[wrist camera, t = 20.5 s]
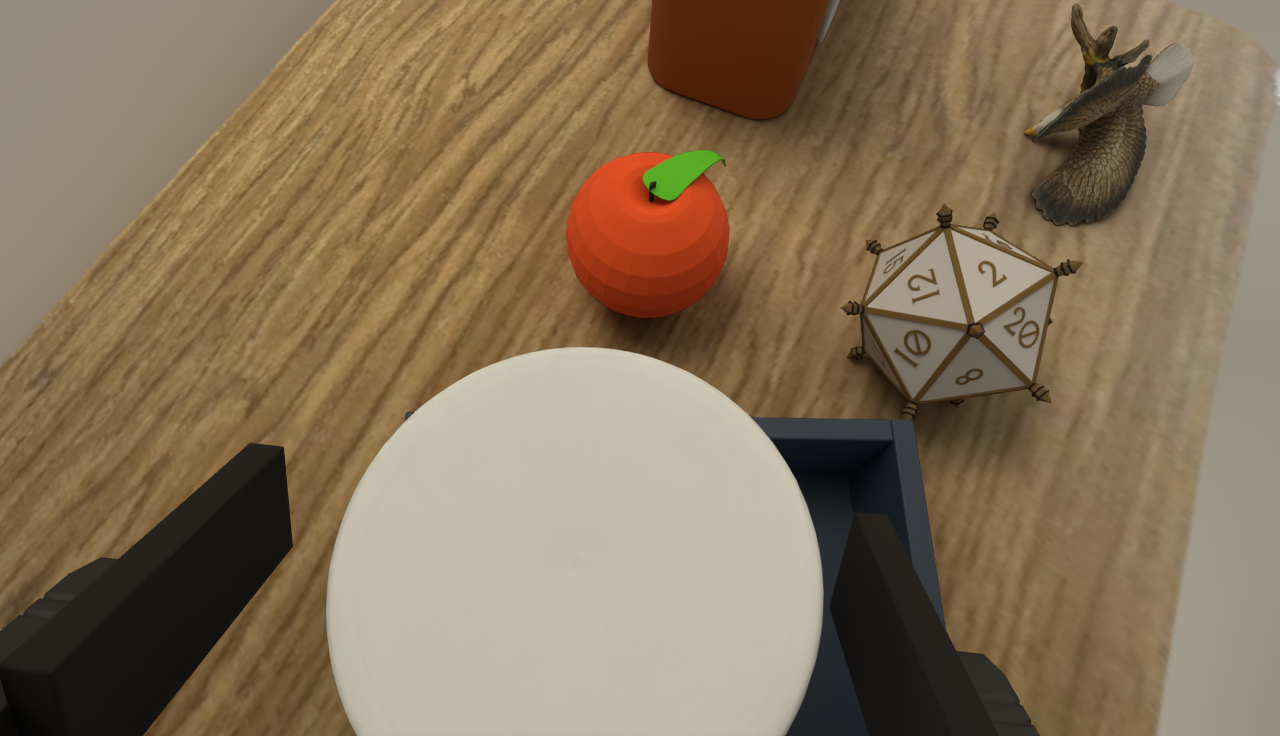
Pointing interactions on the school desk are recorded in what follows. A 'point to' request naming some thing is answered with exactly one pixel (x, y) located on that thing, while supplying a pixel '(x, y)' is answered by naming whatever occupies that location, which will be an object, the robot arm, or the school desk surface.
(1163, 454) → the school desk surface
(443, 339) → the school desk surface
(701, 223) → the clementine
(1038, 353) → the game die
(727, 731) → the supplement tub
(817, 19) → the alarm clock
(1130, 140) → the eagle figurine
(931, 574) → the bin
